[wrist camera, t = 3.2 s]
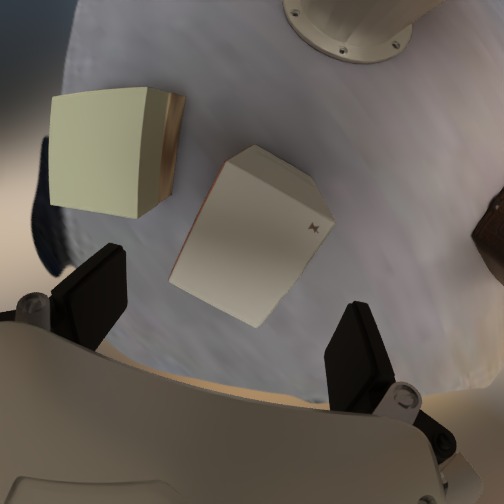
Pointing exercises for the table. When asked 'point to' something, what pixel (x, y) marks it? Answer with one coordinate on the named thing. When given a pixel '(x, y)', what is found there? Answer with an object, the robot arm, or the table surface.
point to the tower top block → (107, 150)
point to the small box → (252, 236)
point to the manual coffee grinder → (492, 238)
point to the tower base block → (170, 143)
